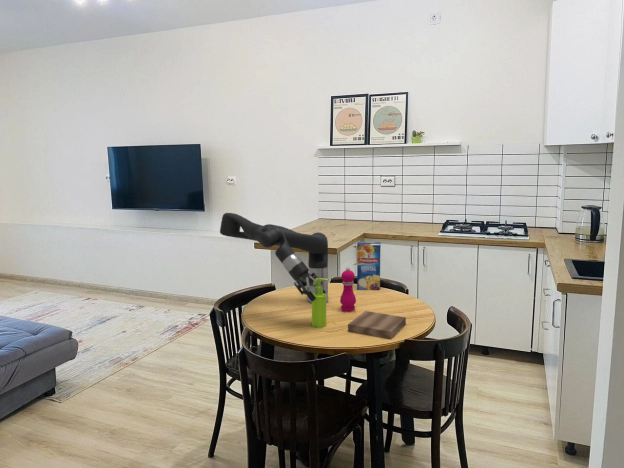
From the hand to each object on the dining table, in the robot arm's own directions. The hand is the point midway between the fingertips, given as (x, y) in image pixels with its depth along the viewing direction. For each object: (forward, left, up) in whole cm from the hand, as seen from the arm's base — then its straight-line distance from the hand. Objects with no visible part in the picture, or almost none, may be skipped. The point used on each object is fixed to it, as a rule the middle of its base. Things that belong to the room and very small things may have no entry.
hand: (319, 297), depth 191 cm
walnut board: (+22, +9, -12) cm, 27 cm away
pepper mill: (+2, +24, -12) cm, 27 cm away
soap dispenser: (0, +1, -12) cm, 12 cm away
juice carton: (-3, +61, -12) cm, 62 cm away
